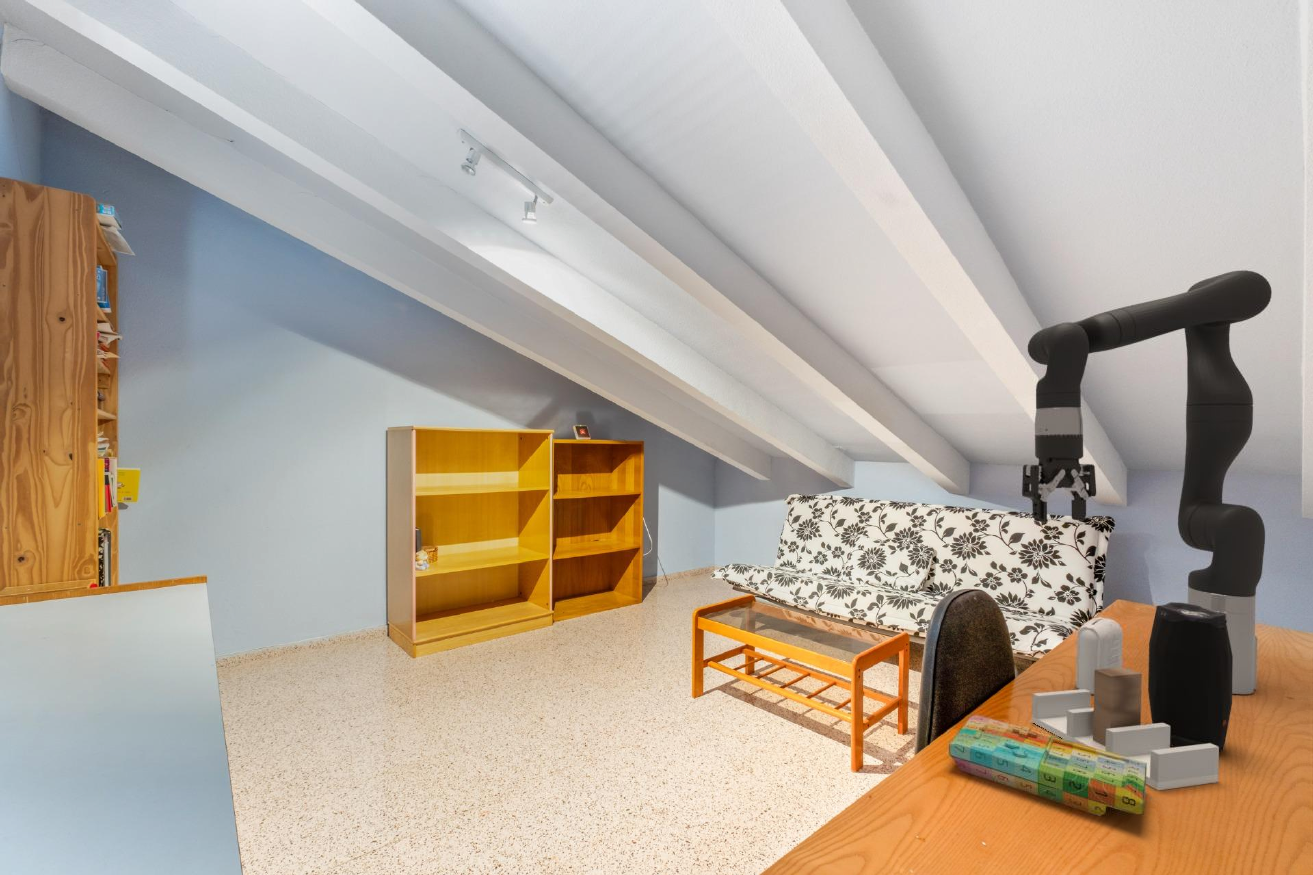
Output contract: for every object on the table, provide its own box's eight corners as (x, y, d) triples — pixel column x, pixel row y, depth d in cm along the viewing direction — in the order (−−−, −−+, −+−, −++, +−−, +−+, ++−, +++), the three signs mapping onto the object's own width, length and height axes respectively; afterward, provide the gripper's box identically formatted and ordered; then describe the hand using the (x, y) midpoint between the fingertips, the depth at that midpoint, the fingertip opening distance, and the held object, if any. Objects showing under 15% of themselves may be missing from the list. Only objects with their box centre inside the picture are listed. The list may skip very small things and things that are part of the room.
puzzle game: (971, 708, 91) (1146, 755, 78) (970, 741, 90) (1146, 793, 78) (949, 737, 81) (1143, 795, 69) (948, 773, 81) (1142, 838, 69)
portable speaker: (1246, 758, 87) (1250, 617, 87) (1178, 756, 87) (1181, 615, 87) (1195, 729, 95) (1198, 601, 96) (1132, 727, 96) (1136, 599, 96)
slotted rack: (1084, 717, 99) (1084, 689, 99) (1218, 782, 80) (1218, 747, 80) (1032, 722, 96) (1032, 693, 96) (1157, 790, 78) (1158, 754, 78)
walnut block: (1122, 736, 90) (1124, 667, 90) (1140, 744, 88) (1141, 673, 88) (1092, 740, 89) (1094, 669, 89) (1109, 748, 87) (1111, 676, 87)
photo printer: (1097, 678, 116) (1099, 612, 116) (1125, 686, 113) (1126, 617, 113) (1072, 689, 110) (1073, 619, 110) (1099, 698, 107) (1101, 625, 107)
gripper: (1043, 432, 110) (1045, 524, 110) (1108, 432, 114) (1109, 522, 113) (1010, 433, 118) (1011, 519, 117) (1072, 433, 121) (1073, 517, 121)
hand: (1059, 520), depth 115 cm, fingers open, 8 cm apart
